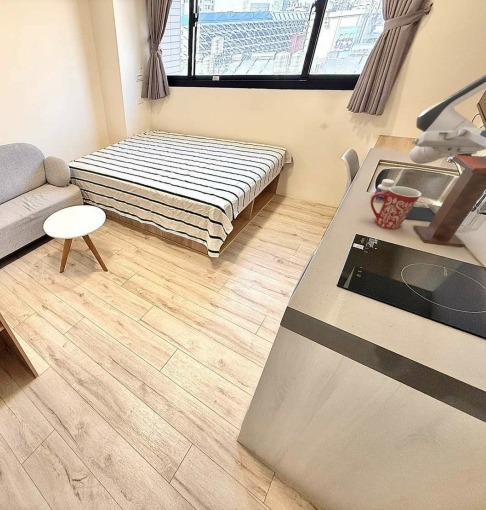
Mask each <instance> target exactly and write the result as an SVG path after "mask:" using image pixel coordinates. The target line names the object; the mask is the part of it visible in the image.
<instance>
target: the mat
mask: <svg viewBox="0 0 486 510" xmlns="http://www.w3.org/2000/svg"><path fill="white" fill-rule="evenodd" d="M435 215H436V213H435V212H434V210H432V209H431V207H425V206H415V205H414V206H413V207H412V209H411V210H410V212H409V213H408V215H407V216H406V218H405V219H404V220H410V221H420V222H430V223H431V221H432V220H433V218H434V216H435Z"/></svg>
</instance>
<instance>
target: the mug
mask: <svg viewBox="0 0 486 510" xmlns="http://www.w3.org/2000/svg"><path fill="white" fill-rule="evenodd" d="M374 193H375V192H374ZM374 193H373V195H372V196H371V199H370V208H371V211H372V212H373V215H374V217H375V218H376V219H375V224H376V226H379V227H380V228H383V229H387V230H398V229H399V228H400V227H401V226H402V224H403V222H404V221H405V220H406V219H405V218H406V216H407V215H408V213H409V212H410V210H411V209H412V207H413V206H414V207H415V204H416V203H417V202H418V200H419V198H420V197H421V196H422V192H421V191H419V190H418V189H414V188H412V187H407V186H399V185H393V187H390V188H389V191H388V194H386V193H383V192H377V193H375V194H374ZM378 195H383V197H384V203H382V205H381V208H380V210H379V212H377V210H376V209H375V205H374V202H375V201H374V198H375V197H376V196H378Z"/></svg>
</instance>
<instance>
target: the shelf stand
mask: <svg viewBox="0 0 486 510" xmlns="http://www.w3.org/2000/svg"><path fill="white" fill-rule="evenodd" d="M451 161H453V162H454V163H456V165H459V166H460V167H461V168H463V171H462V172H461V173H460V175H459V176H458V178H457V180H456V182H455V183H454V185H453V186H452V188H451V189H450V191H449V192H448V194H447V196H446V197H445V199H444V200H443V202H442V203H441V205H440V206H439V208H438V209H437V212H436V213H435V214H436V215H435V216H434V218H433V220H432V221H431V222H430V223H429V224H428V226H423V225H421V226H420V225H414V226H413V228H412V229H413V231H414V232H415V234H416V235H417V236H418V237H419V238H420V240H421V241H422V243H423V244H429V245H439V246H447V247H455V248H463V246H464V245H465V244H464V243H463V241H461V240H460V239H459V238H458V236H456V232H457V231H458V229H459V228H460V227H461V226H462V224H463V222H464V221H465V219H467V216H468V215H469V214H470V213H471V211H472V209H473V208H474V206H475V205H476V204H477V203H478V201H479V200H480V198H481V197H482V196H483V194H484V193H485V191H486V155H483V156H482V155H455V156H452V158H451Z"/></svg>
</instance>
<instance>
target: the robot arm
mask: <svg viewBox="0 0 486 510" xmlns="http://www.w3.org/2000/svg"><path fill="white" fill-rule="evenodd" d="M484 90H486V74H484V75H483V76H481V77H479V78H478V79H476V80H474V81H472V82H471V83H469V84H467V85H466V86H465V87H462V88H461V89H459V90H457V91H456V92H454V93H453V94H451V95H449V96H448V97H445V98H444V99H443V100H440V101H439V102H437V103H435V104H433V105H431V106H429V107H427V108H426V109H424V110H423V111H422V112H421V113H420V114H419V115H418V116H417V118H416V123H415V124H416V128H417V129H418V130H420V131H422V132H423V133H422V134H420V135H419V136H418V138H416V139H414V140H412V142H411V143H412V144H413V145H415V146H414V147H413V148H412V149H411V150H410V152H409V159H410V160H411V162H413V163H415V164H417V165H426V164H429V163H433V162H437V161H438V160H441V159H445V158H451V157H455V155H460V156H473V155H476V154H477V152H481V151H486V147H484V146H482V145H480V144H478V143H476V142H474V141H472V140H470V139H468V138H466V137H464V135H466V133H467V129H461V128H462V127H478V126H477V125H476V124H474V123H473V122H472V121H471V120H469V118H467V117H465V116H464V115H462V114H461V113H459V112H458V111H457V109H455V107H456V106H458V105H460V104H461V103H464V102H465V101H466V100H469V99H470V98H472V97H474V96H475V95H477V94H478V93H480V92H482V91H484ZM484 130H485V131H486V129H484Z"/></svg>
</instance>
